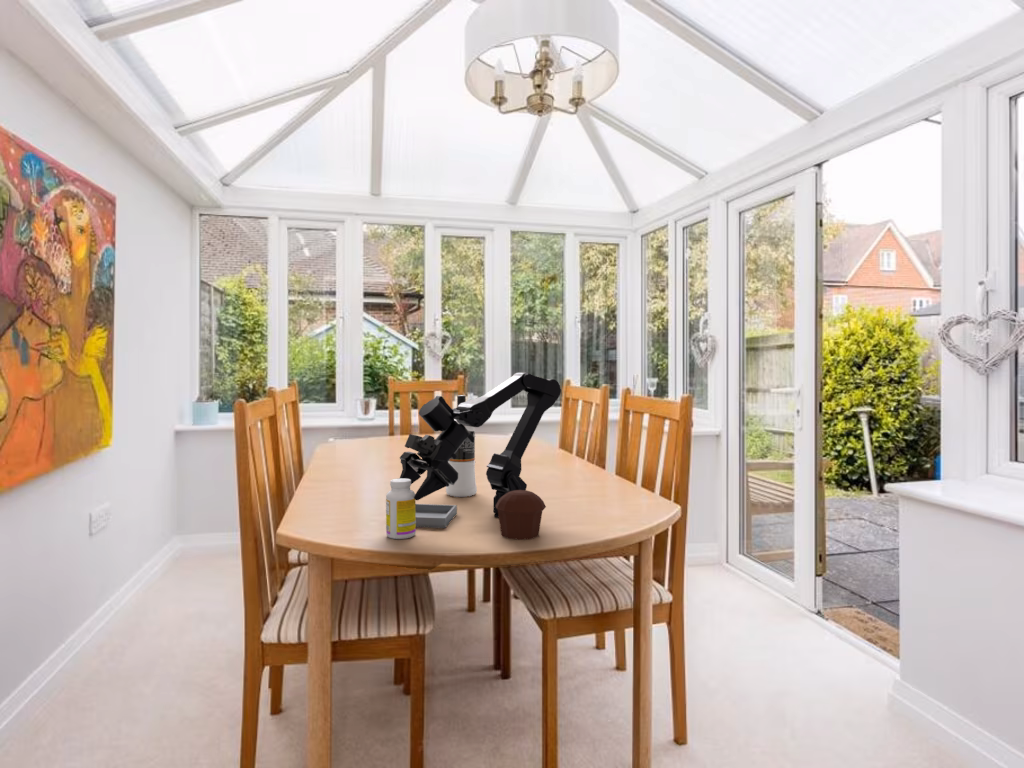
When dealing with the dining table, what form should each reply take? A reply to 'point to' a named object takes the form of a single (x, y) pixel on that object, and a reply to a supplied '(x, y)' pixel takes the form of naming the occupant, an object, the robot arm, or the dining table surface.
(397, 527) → the supplement bottle
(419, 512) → the tray
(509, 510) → the muffin
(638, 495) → the dining table surface
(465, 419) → the robot arm
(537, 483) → the dining table surface
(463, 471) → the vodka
